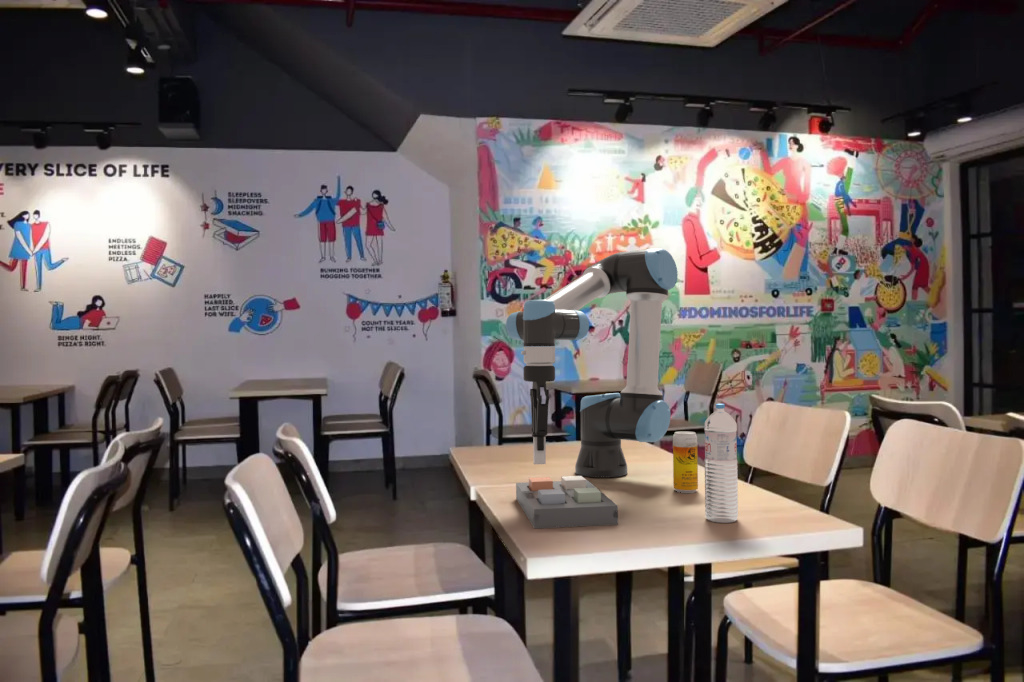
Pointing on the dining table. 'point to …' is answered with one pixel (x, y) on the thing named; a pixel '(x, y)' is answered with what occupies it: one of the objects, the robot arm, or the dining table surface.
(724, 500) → the water bottle
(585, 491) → the sage key
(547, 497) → the slate key
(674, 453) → the beer can
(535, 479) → the terracotta key
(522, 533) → the dining table surface
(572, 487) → the cream key
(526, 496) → the keypad
